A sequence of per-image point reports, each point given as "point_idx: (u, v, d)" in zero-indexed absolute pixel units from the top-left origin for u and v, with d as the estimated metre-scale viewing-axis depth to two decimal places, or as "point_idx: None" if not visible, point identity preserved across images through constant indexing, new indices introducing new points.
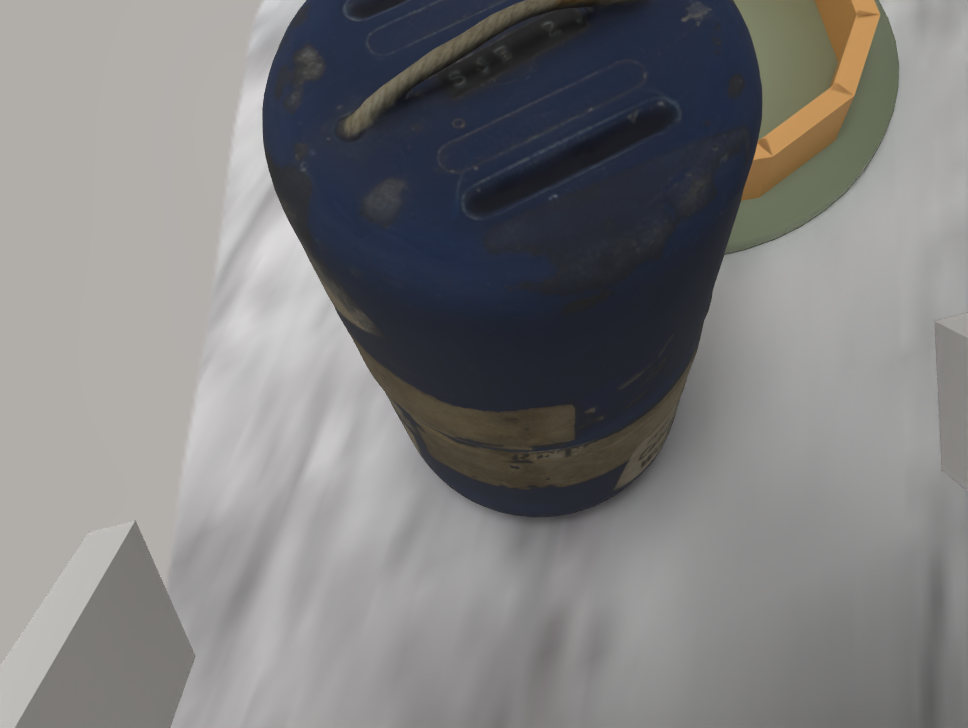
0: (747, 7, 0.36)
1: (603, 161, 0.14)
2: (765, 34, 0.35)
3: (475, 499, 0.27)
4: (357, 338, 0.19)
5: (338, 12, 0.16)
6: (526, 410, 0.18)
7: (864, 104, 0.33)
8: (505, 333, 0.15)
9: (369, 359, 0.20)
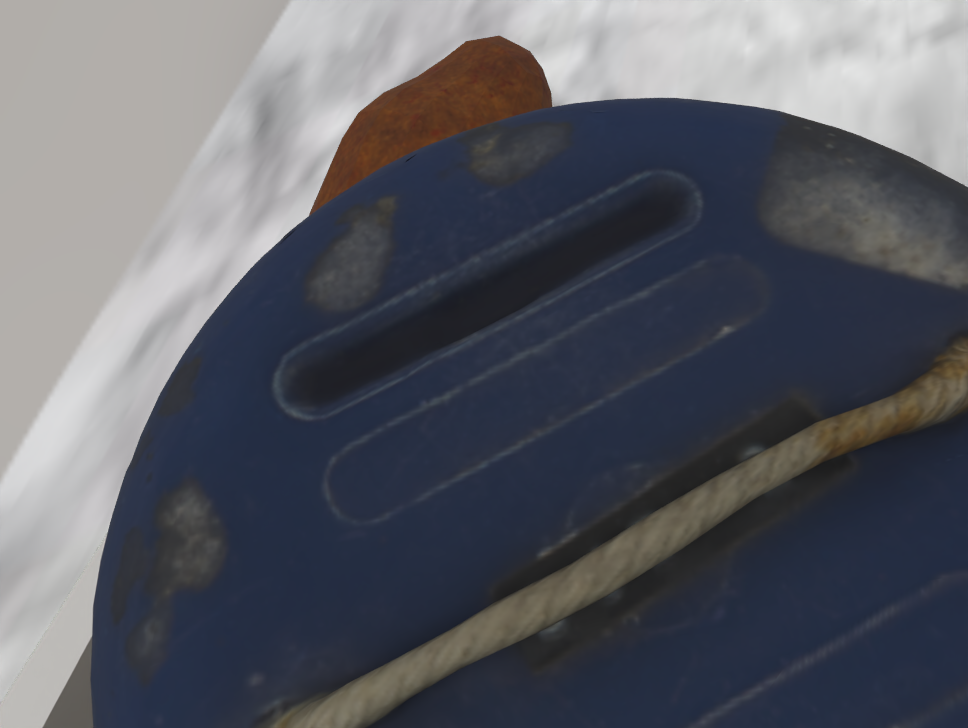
0: None
1: None
2: None
3: None
4: None
5: (263, 391, 0.07)
6: None
7: None
8: None
9: None
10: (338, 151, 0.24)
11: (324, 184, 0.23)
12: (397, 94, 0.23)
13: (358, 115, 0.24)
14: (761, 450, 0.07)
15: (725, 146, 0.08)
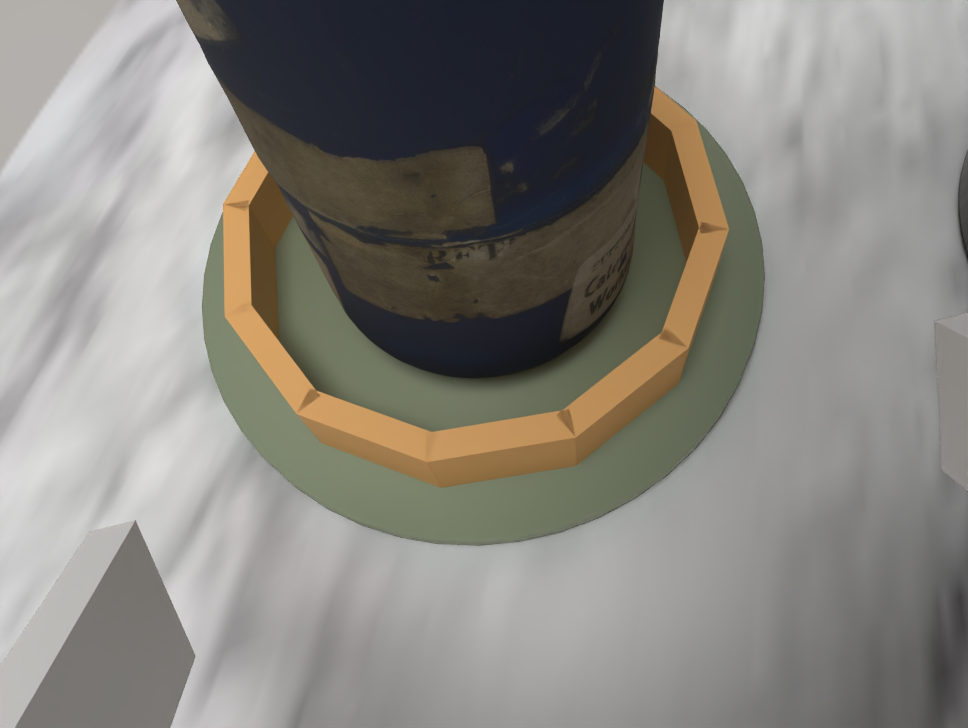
0: None
1: None
2: None
3: (404, 356, 0.24)
4: (226, 79, 0.16)
5: None
6: (426, 154, 0.15)
7: (718, 332, 0.26)
8: None
9: (247, 119, 0.17)
10: None
11: None
12: None
13: None
14: None
15: None
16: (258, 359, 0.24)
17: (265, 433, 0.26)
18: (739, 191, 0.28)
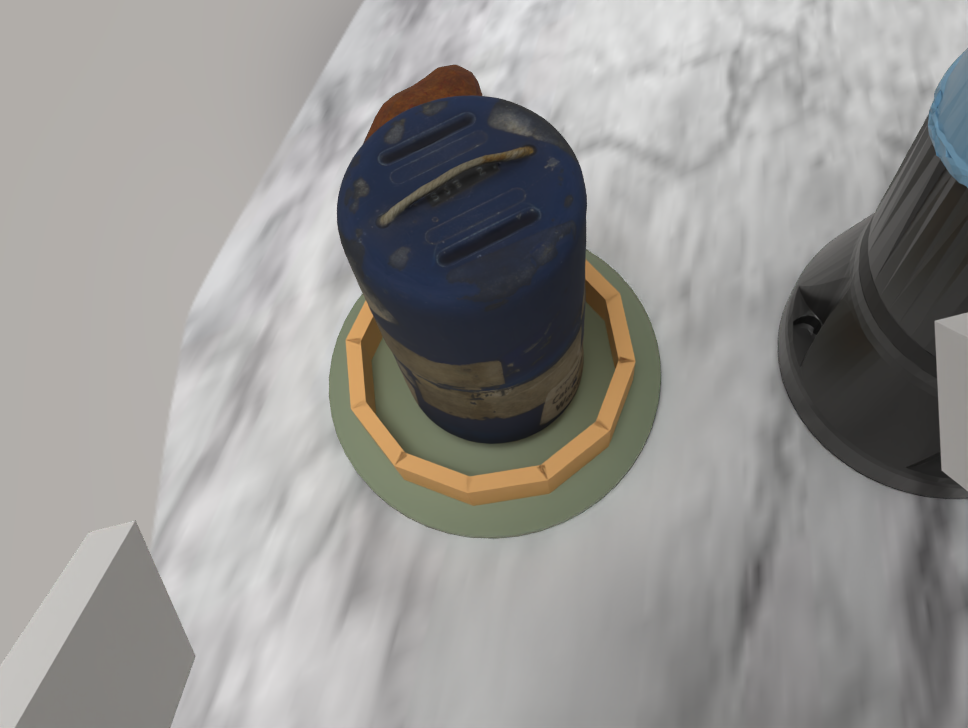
0: None
1: (503, 238, 0.30)
2: None
3: (453, 432, 0.43)
4: (383, 326, 0.35)
5: (375, 160, 0.32)
6: (474, 363, 0.34)
7: (632, 416, 0.45)
8: (458, 320, 0.30)
9: (389, 338, 0.35)
10: (373, 122, 0.48)
11: (367, 138, 0.48)
12: (402, 94, 0.48)
13: (383, 105, 0.49)
14: (481, 168, 0.31)
15: (482, 106, 0.32)
16: (371, 434, 0.43)
17: (371, 473, 0.45)
18: (648, 329, 0.46)
